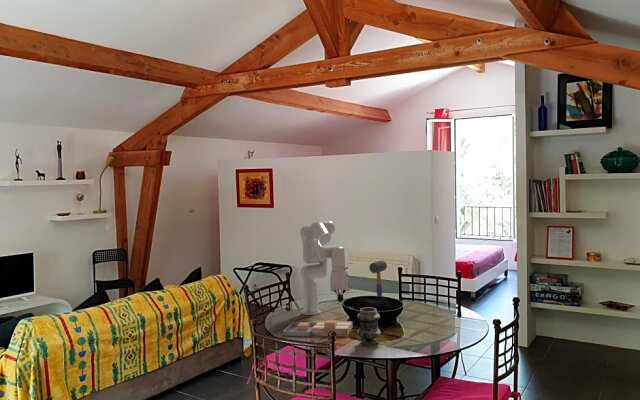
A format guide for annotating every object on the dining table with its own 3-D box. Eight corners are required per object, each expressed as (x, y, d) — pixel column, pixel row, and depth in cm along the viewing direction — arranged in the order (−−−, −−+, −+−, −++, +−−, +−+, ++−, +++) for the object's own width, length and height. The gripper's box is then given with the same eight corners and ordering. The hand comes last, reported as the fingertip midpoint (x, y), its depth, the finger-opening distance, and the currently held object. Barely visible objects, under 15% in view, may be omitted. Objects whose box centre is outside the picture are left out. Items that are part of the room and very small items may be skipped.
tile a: (309, 322, 296) (310, 327, 296) (299, 322, 297) (300, 327, 297) (306, 325, 290) (307, 330, 290) (296, 325, 292) (297, 330, 292)
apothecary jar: (378, 347, 255) (376, 312, 255) (355, 346, 259) (353, 311, 259) (383, 340, 267) (381, 306, 266) (361, 339, 271) (359, 305, 270)
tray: (293, 326, 303) (293, 321, 303) (319, 326, 299) (318, 322, 299) (282, 335, 284) (282, 331, 284) (310, 336, 280) (309, 332, 280)
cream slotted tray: (319, 327, 296) (318, 320, 296) (352, 328, 291) (352, 321, 291) (312, 335, 282) (311, 328, 282) (347, 336, 277) (347, 329, 277)
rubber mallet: (379, 308, 335) (377, 263, 334) (370, 306, 339) (368, 262, 338) (389, 303, 344) (387, 260, 343) (380, 302, 349) (378, 259, 348)
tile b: (327, 325, 287) (326, 319, 287) (337, 325, 285) (337, 320, 285) (324, 328, 281) (324, 322, 281) (335, 328, 279) (334, 323, 279)
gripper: (353, 267, 283) (355, 300, 284) (327, 267, 287) (329, 300, 288) (350, 269, 276) (352, 303, 276) (323, 270, 280) (325, 303, 280)
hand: (340, 301), depth 282 cm, fingers closed
